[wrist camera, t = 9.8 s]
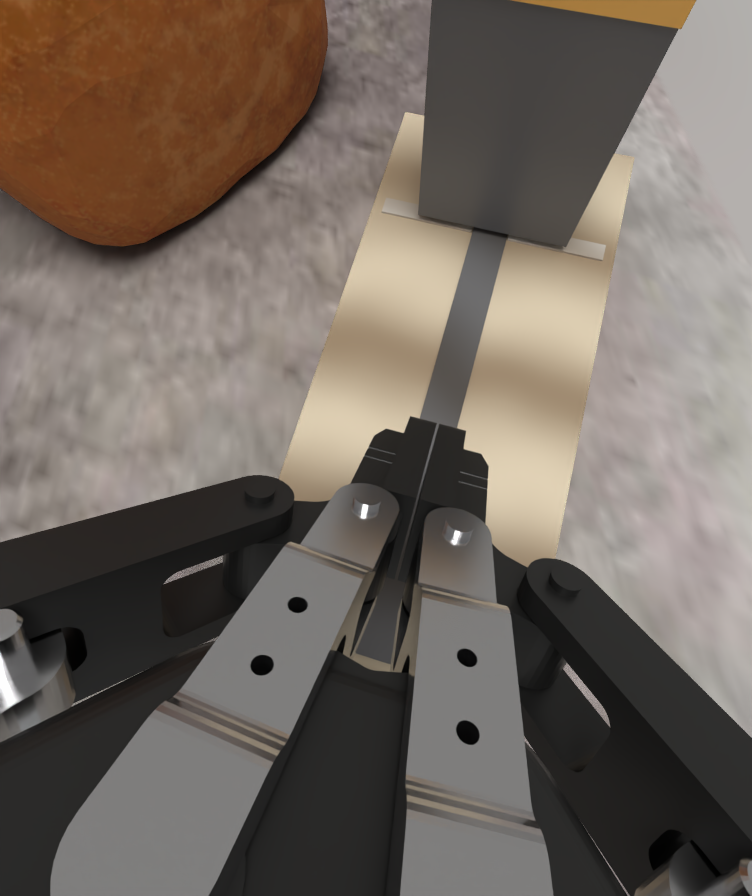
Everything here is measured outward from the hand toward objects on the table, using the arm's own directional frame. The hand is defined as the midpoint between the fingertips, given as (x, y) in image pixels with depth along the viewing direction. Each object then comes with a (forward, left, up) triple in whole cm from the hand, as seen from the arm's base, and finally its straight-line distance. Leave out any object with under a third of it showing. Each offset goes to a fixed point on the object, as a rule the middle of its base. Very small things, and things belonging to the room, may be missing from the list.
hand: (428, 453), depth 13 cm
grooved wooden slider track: (-2, +4, -7) cm, 8 cm away
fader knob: (-5, +11, -4) cm, 13 cm away
